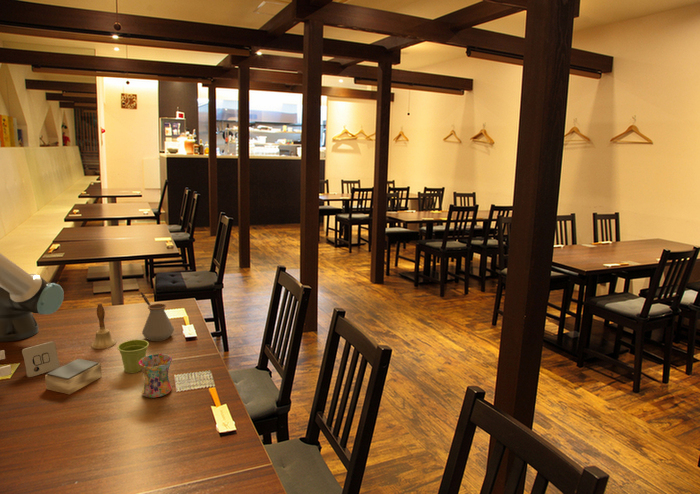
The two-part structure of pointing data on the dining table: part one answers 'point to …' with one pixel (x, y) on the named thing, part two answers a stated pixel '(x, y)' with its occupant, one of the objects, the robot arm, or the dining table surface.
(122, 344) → the plant pot
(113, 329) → the dining table surface
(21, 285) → the robot arm
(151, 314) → the coffee pot
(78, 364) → the birch stand
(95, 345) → the hand bell
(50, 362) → the electrical switch
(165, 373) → the mug
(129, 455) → the dining table surface
